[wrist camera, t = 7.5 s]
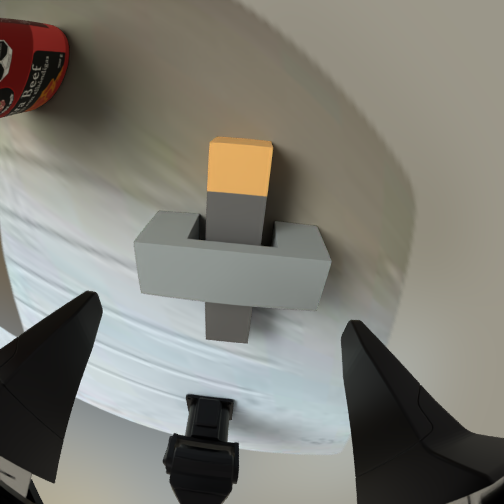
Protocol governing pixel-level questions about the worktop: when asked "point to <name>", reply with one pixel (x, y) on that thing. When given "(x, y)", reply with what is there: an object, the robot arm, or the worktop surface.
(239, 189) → the plug
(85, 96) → the worktop surface
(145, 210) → the worktop surface
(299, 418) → the worktop surface
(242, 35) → the worktop surface
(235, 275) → the housing
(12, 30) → the canned food
